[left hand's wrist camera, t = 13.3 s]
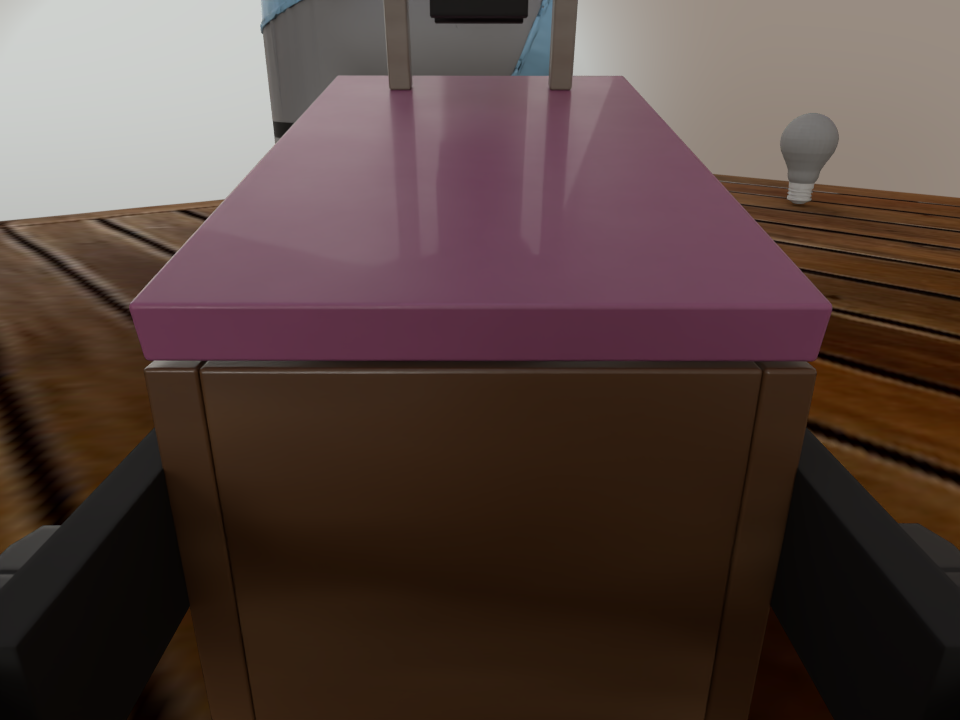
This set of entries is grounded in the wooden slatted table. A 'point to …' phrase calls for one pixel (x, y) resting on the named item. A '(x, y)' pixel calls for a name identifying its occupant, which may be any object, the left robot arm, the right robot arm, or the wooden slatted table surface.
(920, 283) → the wooden slatted table surface
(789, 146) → the light bulb
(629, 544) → the chest
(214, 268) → the lid
